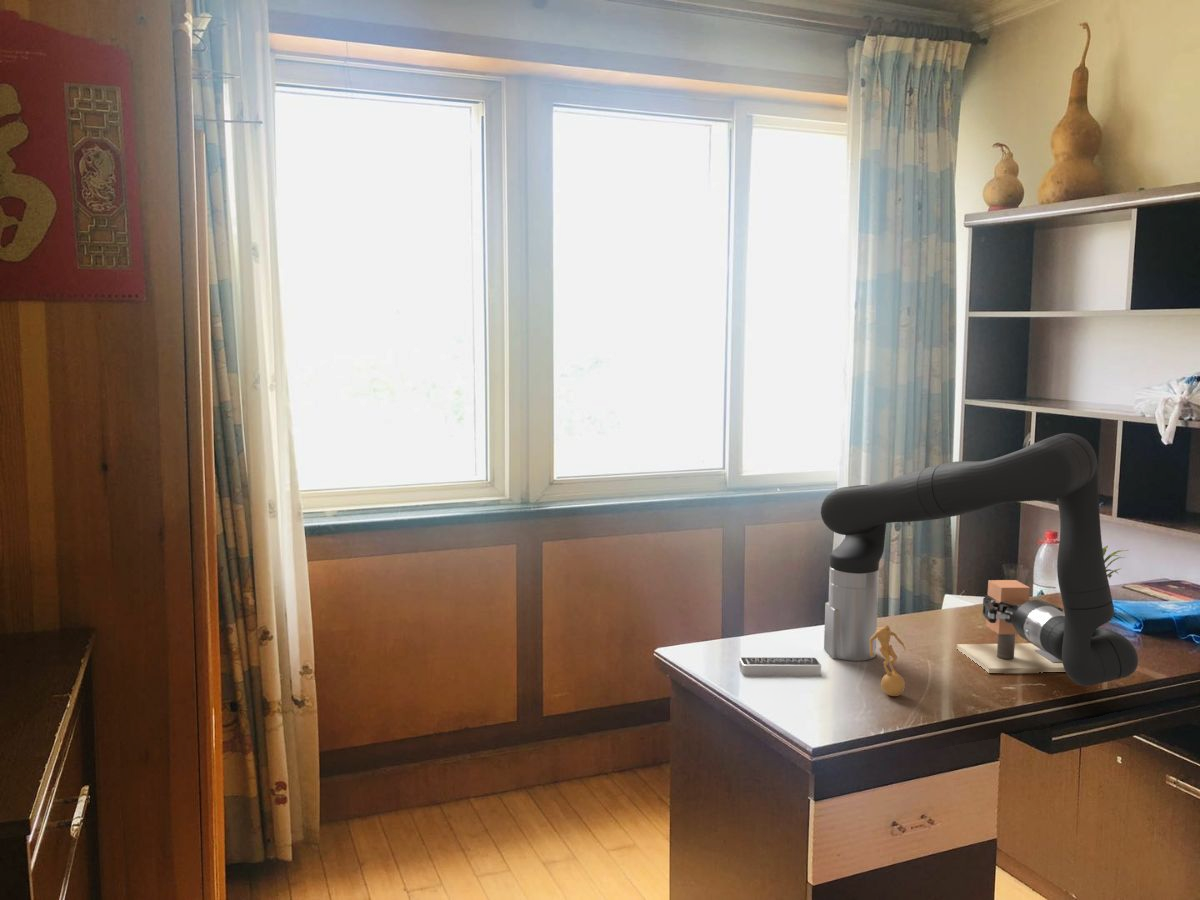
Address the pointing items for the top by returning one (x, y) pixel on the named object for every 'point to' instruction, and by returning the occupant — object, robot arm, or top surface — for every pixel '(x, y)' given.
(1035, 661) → the post stand
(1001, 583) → the tall salmon pillar
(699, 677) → the top surface
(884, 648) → the figurine
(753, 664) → the multiport hub
